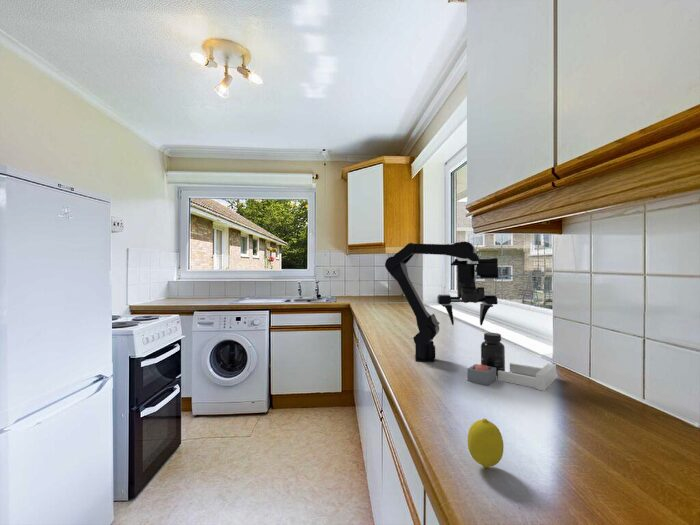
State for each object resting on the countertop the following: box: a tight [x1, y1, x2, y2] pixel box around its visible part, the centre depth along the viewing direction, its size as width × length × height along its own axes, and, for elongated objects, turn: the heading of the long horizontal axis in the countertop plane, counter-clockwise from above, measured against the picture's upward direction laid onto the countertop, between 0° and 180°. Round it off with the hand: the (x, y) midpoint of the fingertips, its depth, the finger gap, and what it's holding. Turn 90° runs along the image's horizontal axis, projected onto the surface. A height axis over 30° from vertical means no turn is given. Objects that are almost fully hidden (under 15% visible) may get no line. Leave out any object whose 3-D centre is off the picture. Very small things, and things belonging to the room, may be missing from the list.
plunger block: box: [466, 363, 497, 386], centre depth 98 cm, size 6×6×4 cm
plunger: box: [474, 363, 488, 371], centre depth 98 cm, size 4×4×4 cm
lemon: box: [467, 418, 504, 469], centre depth 56 cm, size 6×6×8 cm
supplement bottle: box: [480, 332, 506, 377], centre depth 105 cm, size 7×7×12 cm
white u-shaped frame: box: [497, 362, 557, 391], centre depth 99 cm, size 12×13×4 cm
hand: (466, 325), depth 115 cm, fingers open, 9 cm apart
